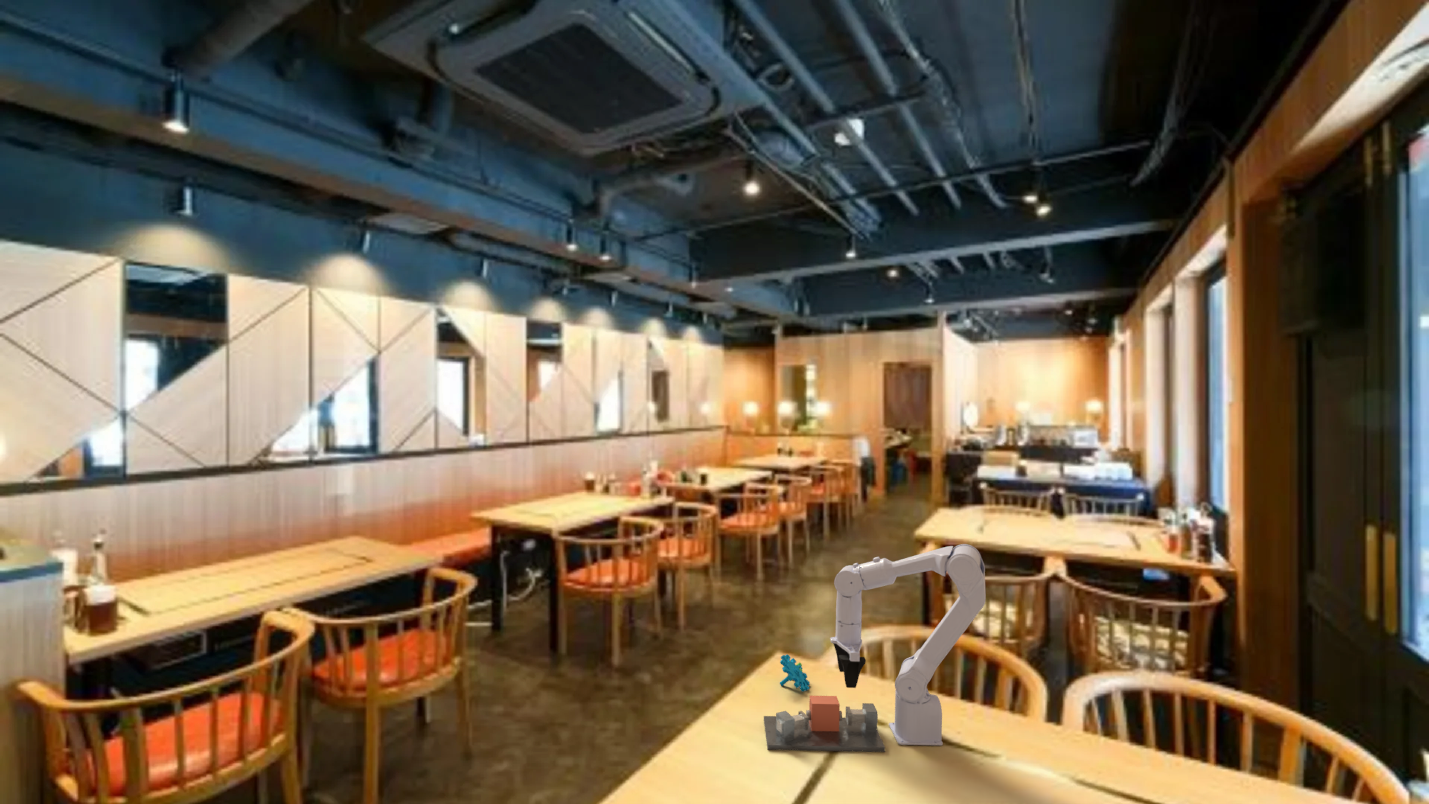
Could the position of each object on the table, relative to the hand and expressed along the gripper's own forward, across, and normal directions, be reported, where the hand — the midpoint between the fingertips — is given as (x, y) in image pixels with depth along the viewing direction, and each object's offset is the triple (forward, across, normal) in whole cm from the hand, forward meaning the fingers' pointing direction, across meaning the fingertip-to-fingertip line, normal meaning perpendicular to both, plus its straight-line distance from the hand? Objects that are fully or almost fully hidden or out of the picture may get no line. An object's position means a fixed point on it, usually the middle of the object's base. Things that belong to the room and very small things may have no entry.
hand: (847, 679), depth 143 cm
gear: (+10, -16, -10) cm, 21 cm away
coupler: (+8, +5, -6) cm, 11 cm away
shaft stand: (+9, +7, -7) cm, 13 cm away
